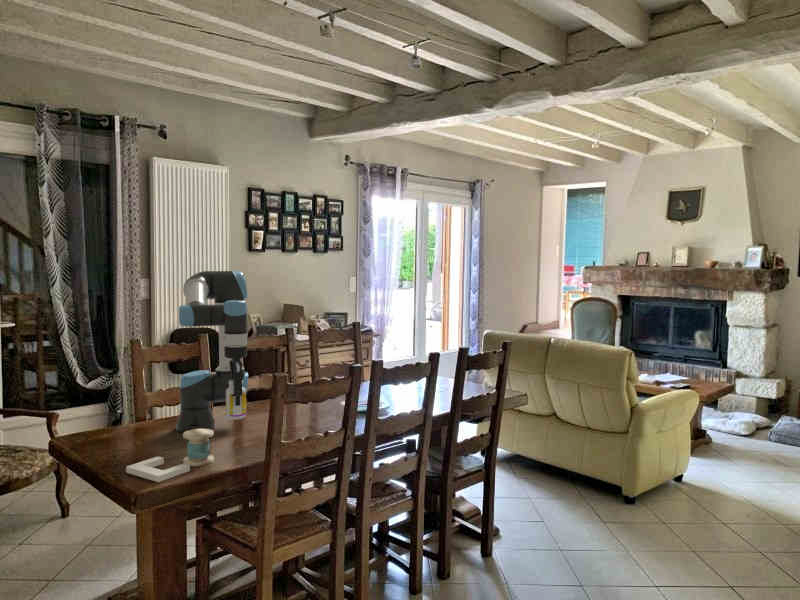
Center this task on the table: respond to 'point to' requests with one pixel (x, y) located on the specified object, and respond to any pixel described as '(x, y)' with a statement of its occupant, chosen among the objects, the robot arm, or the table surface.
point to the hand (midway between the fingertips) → (236, 411)
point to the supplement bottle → (230, 402)
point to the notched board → (154, 474)
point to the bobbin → (198, 447)
